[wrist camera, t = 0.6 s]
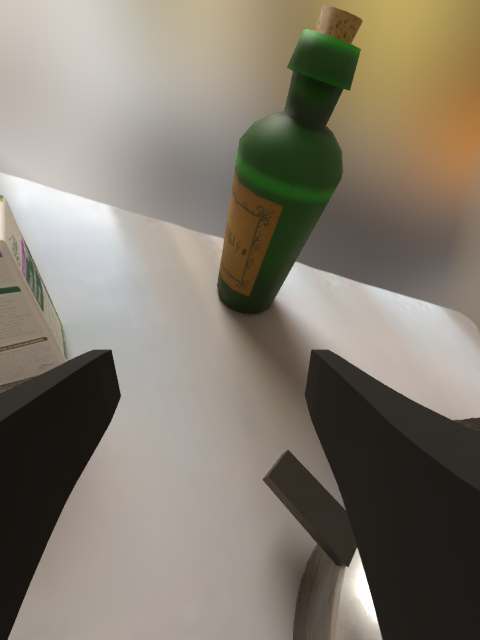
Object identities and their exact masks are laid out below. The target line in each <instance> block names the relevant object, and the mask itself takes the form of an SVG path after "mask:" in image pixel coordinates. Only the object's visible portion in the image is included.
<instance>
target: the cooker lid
mask: <svg viewBox="0 0 480 640" xmlns="http://www.w3.org/2000/svg"><path fill="white" fill-rule="evenodd" d="M262 480H263V481H264V482H265V483H266V484H267V485H268V487H269V488H270V489H271V490H272V491H273V492H274V494H275V495H276V496H277V497H278V498H279V499H280V501H281V502H282V503H283V504H284V505H285V506H286V507H287V509H288V510H289V511H290V512H291V513H292V514H293V516H294V517H295V518H296V519H297V520H298V521H299V523H300V524H301V525H302V526H303V527H304V528H305V530H306V531H307V532H308V533H309V534H310V535H311V537H312V538H313V539H314V540H315V541H316V542H317V543H318V545H319V546H320V547H321V548H322V549H323V550H324V552H325V553H326V554H327V555H328V556H329V557H330V559H331V560H332V561H333V562H334V563H335V564H336V569H335V573H334V577H333V581H332V585H331V589H330V596H329V604H328V611H327V620H326V640H382V636H381V632H380V628H379V625H378V621H377V617H376V613H375V610H374V606H373V602H372V598H371V595H370V591H369V587H368V583H367V580H366V576H365V572H364V569H363V565H362V562H361V558H360V555H359V551H358V548H357V544H356V541H355V537H354V534H353V531H352V527H351V524H350V521H349V518H348V514H347V511H346V510H345V509H344V508H343V507H342V506H341V505H340V504H339V503H338V502H337V501H336V500H335V499H334V498H333V497H332V496H331V495H330V493H329V492H328V491H327V490H326V489H325V488H324V487H323V486H322V485H321V484H320V483H319V482H318V481H317V480H316V479H315V478H314V477H313V476H312V474H311V473H310V472H309V471H308V470H307V469H306V468H305V467H304V466H303V465H302V464H301V463H300V462H299V461H298V460H297V459H296V458H295V457H294V455H293V454H292V453H291V452H290V451H289V450H287V451H286V452H285V453H283V454H282V455H281V457H280V458H279V459H278V460H277V462H276V463H275V464H274V465H273V467H272V468H271V469H270V471H269V472H268V473H267V474H266V476H265V477H264V478H263V479H262Z"/></svg>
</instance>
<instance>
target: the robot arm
mask: <svg viewBox="0 0 480 640" xmlns="http://www.w3.org/2000/svg"><path fill="white" fill-rule="evenodd" d="M120 397H121V394H120V389H119V384H118V379H117V375H116V370H115V365H114V360H113V355H112V350H92V351H89V352H87V353H84V354H82V355H80V356H78V357H75V358H73V359H71V360H69V361H67V362H65V363H63V364H61V365H59V366H57V367H55V368H53V369H51V370H49V371H47V372H45V373H43V374H41V375H39V376H37V377H35V378H33V379H31V380H29V381H26V382H24V383H22V384H20V385H18V386H16V387H13V388H11V389H9V390H7V391H5V392H3V393H0V640H8V637H9V635H10V632H11V630H12V627H13V625H14V622H15V620H16V617H17V615H18V612H19V610H20V607H21V605H22V602H23V600H24V597H25V595H26V592H27V590H28V587H29V585H30V582H31V580H32V578H33V575H34V573H35V571H36V568H37V566H38V564H39V561H40V559H41V557H42V554H43V552H44V550H45V547H46V545H47V543H48V540H49V538H50V536H51V534H52V531H53V529H54V527H55V525H56V523H57V521H58V518H59V516H60V514H61V512H62V510H63V507H64V505H65V503H66V501H67V499H68V497H69V495H70V493H71V492H72V490H73V488H74V486H75V484H76V482H77V481H78V479H79V477H80V475H81V474H82V472H83V470H84V468H85V467H86V465H87V463H88V461H89V460H90V458H91V456H92V454H93V453H94V451H95V449H96V447H97V446H98V444H99V442H100V440H101V438H102V437H103V435H104V433H105V431H106V430H107V428H108V426H109V424H110V422H111V420H112V418H113V415H114V413H115V410H116V408H117V405H118V403H119V400H120ZM305 397H306V401H307V405H308V409H309V413H310V416H311V420H312V423H313V425H314V428H315V430H316V433H317V435H318V438H319V440H320V443H321V445H322V447H323V450H324V452H325V455H326V457H327V460H328V462H329V464H330V467H331V469H332V472H333V474H334V477H335V479H336V481H337V484H338V487H339V490H340V492H341V495H342V498H343V501H344V505H345V508H346V511H347V514H348V518H349V521H350V524H351V527H352V531H353V534H354V537H355V541H356V544H357V548H358V551H359V555H360V558H361V562H362V565H363V569H364V572H365V576H366V580H367V583H368V587H369V591H370V595H371V598H372V602H373V606H374V610H375V613H376V617H377V621H378V625H379V628H380V632H381V636H382V640H480V432H478V431H476V430H473V429H471V428H468V427H466V426H464V425H462V424H459V423H457V422H455V421H453V420H451V419H449V418H446V417H444V416H442V415H440V414H438V413H436V412H434V411H432V410H430V409H428V408H426V407H424V406H422V405H420V404H418V403H416V402H414V401H413V400H411V399H409V398H407V397H405V396H403V395H402V394H400V393H398V392H396V391H395V390H393V389H391V388H389V387H388V386H386V385H384V384H383V383H381V382H379V381H378V380H376V379H375V378H373V377H371V376H370V375H368V374H367V373H365V372H363V371H362V370H360V369H359V368H357V367H356V366H354V365H352V364H351V363H349V362H348V361H346V360H345V359H343V358H342V357H340V356H338V355H337V354H335V353H333V352H331V351H329V350H311V357H310V364H309V371H308V377H307V384H306V391H305Z"/></svg>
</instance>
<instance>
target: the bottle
mask: <svg viewBox="0 0 480 640" xmlns="http://www.w3.org/2000/svg"><path fill="white" fill-rule="evenodd" d="M361 23H362V19H360V18H358V17H357V16H355V15H352V14H350V13H348V12H346V11H343V10H340V9H337V8H334V7H330V6H325V5H321V6H320V10H319V15H318V20H317V25H316V31H312V30H308V29H304V30H303V32H302V34H301V37H300V39H299V41H298V43H297V46H296V48H295V50H294V53H293V55H292V57H291V60H290V62H289V64H288V67H287V68H289V69H291V70H293V75H292V79H291V84H290V89H289V93H288V97H287V102H286V107H285V111H280V112H276V113H273V114H271V115H269V116H267V117H265V118H263V119H261V120H259V121H257V122H255V123H254V124H253V125H252V126H251V127H250V128H249V129H248V130H247V132H246V133H245V134H244V135H243V136H242V137H241V138H240V141H239V147H238V154H237V160H236V167H235V173H234V180H233V186H232V193H231V199H230V207H229V213H228V219H227V226H226V232H225V238H224V245H223V251H222V258H221V264H220V271H219V277H218V284H217V287H218V293H219V297H220V298H221V299H222V300H223V301H224V302H225V303H226V304H227V305H228V306H229V307H231V308H234V309H236V310H238V311H240V312H243V313H260V312H262V311H264V310H266V309H269V308H270V306H271V304H272V302H273V301H274V299H275V297H276V295H277V293H278V292H279V290H280V288H281V286H282V284H283V283H284V281H285V279H286V277H287V275H288V274H289V272H290V270H291V268H292V266H293V265H294V263H295V261H296V259H297V257H298V256H299V254H300V252H301V250H302V248H303V246H304V245H305V243H306V241H307V239H308V238H309V236H310V234H311V231H312V230H313V228H314V227H315V225H316V223H317V221H318V220H319V218H320V216H321V214H322V212H323V211H324V209H325V207H326V205H327V203H328V202H329V200H330V198H331V196H332V194H333V193H334V191H335V189H336V187H337V185H338V183H339V182H340V180H341V177H342V173H343V165H342V151H341V148H340V146H339V144H338V142H337V140H336V138H335V136H334V134H333V132H332V131H331V130H330V129H329V128H328V127H327V126H326V124H327V122H328V120H329V118H330V116H331V114H332V112H333V110H334V108H335V106H336V104H337V101H338V99H339V97H340V95H341V93H342V91H343V89H346V90H350V88H351V85H352V81H353V77H354V73H355V70H356V66H357V62H358V58H359V54H360V51H361V49H359V48H358V47H356V46H354V45H352V44H351V43H352V41H353V39H354V37H355V35H356V33H357V31H358V29H359V27H360V26H361Z"/></svg>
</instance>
